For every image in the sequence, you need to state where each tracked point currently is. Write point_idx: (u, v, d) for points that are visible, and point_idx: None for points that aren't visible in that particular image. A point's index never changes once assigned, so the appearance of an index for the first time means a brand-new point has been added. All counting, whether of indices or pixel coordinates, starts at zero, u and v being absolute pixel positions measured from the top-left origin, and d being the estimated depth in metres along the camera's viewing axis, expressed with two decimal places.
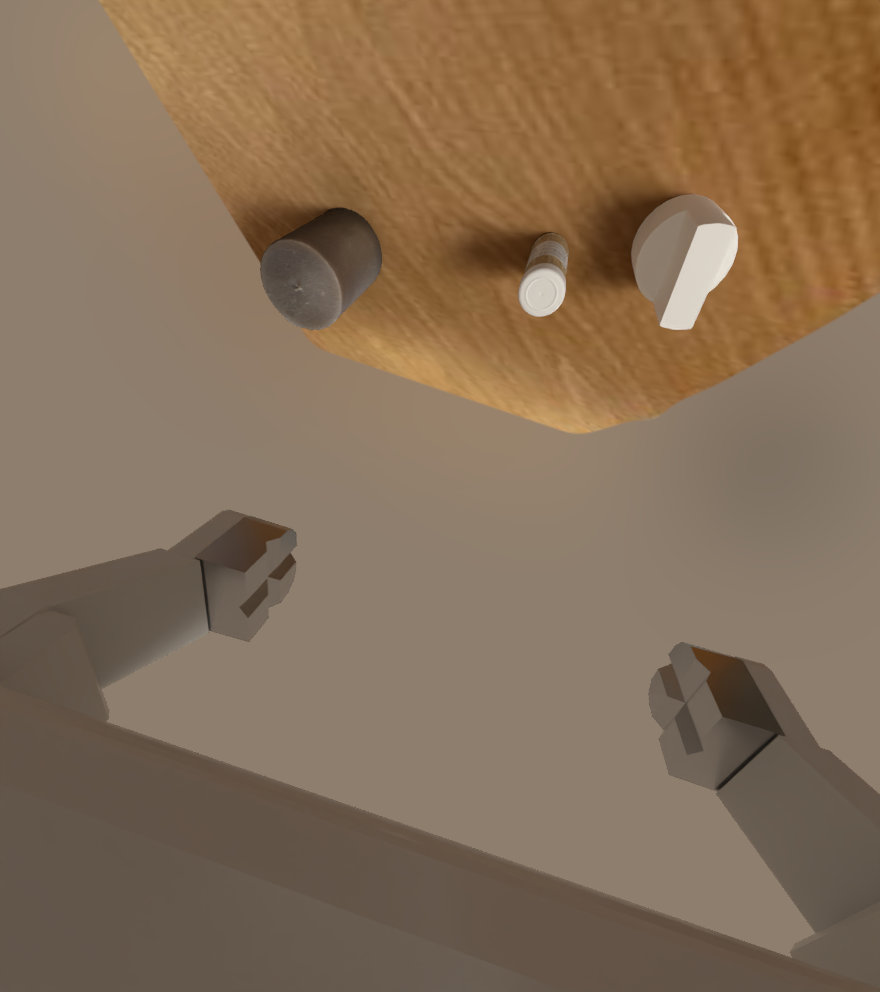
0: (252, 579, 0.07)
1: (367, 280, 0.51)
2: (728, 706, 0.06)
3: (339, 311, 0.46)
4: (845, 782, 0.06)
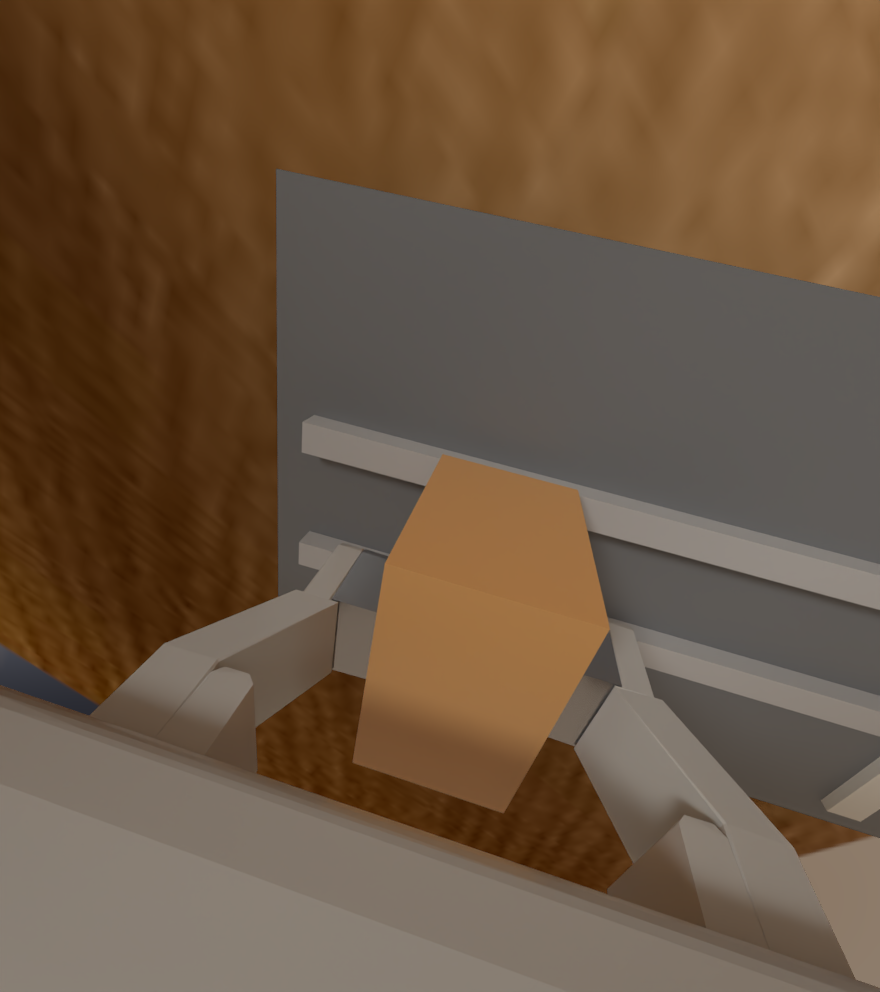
0: None
1: None
2: None
3: None
4: (665, 726, 0.06)
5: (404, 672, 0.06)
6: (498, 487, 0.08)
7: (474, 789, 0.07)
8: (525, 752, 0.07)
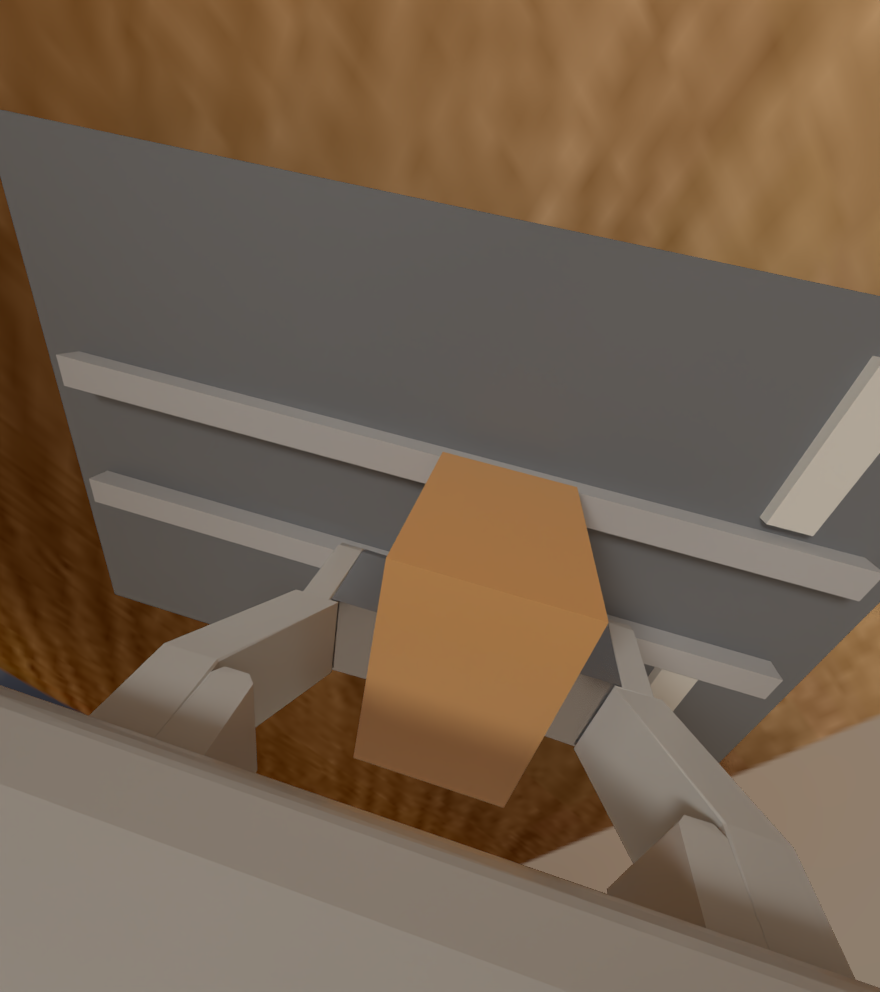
0: None
1: None
2: None
3: None
4: (665, 726, 0.06)
5: (405, 666, 0.06)
6: (497, 483, 0.08)
7: (474, 784, 0.07)
8: (525, 746, 0.07)
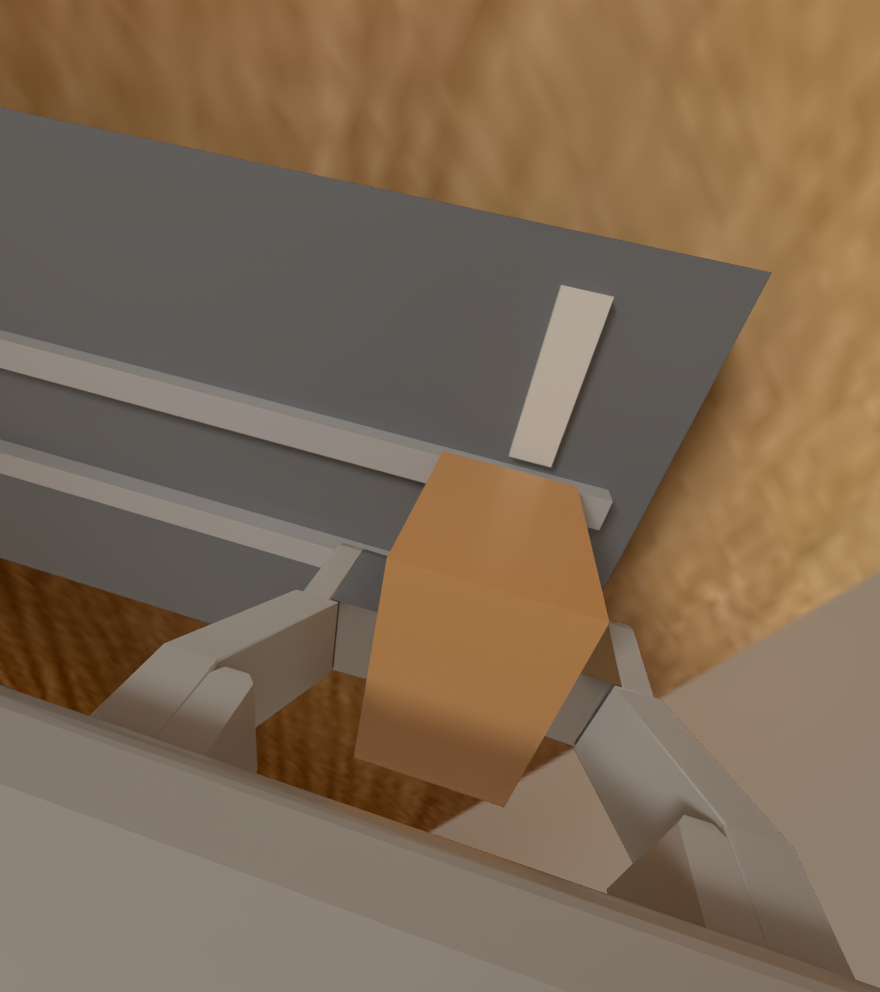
0: None
1: None
2: None
3: None
4: (665, 726, 0.06)
5: (406, 666, 0.06)
6: (497, 483, 0.08)
7: (475, 783, 0.07)
8: (525, 746, 0.07)
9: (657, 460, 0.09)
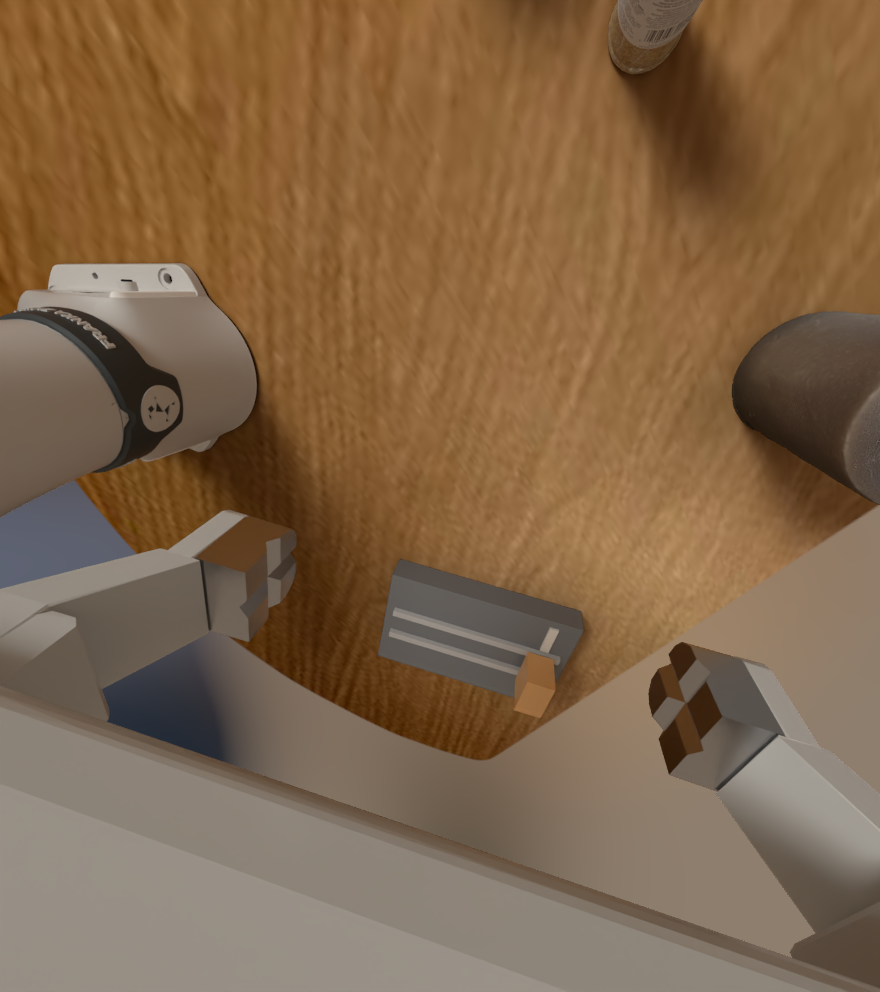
0: (252, 579, 0.07)
1: (857, 317, 0.26)
2: (728, 706, 0.06)
3: None
4: (845, 782, 0.06)
5: (527, 695, 0.43)
6: (539, 661, 0.45)
7: (535, 714, 0.44)
8: (544, 707, 0.43)
9: (569, 652, 0.46)
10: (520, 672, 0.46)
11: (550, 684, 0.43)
